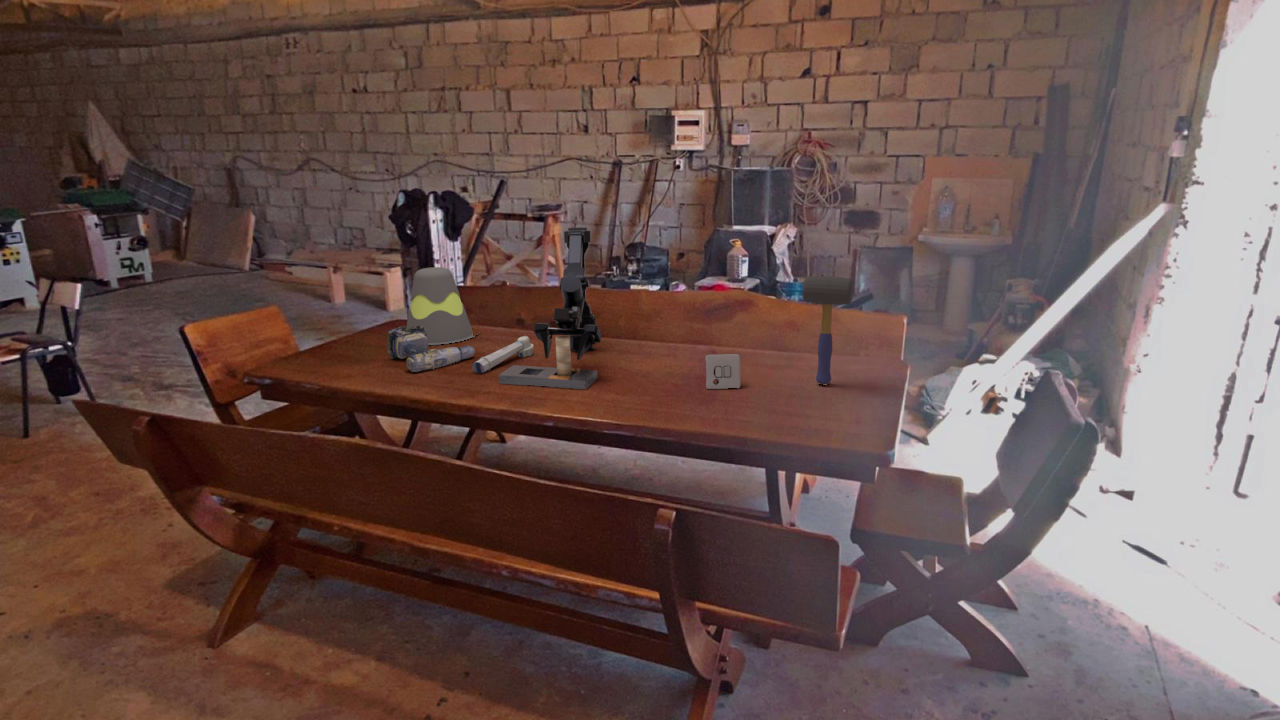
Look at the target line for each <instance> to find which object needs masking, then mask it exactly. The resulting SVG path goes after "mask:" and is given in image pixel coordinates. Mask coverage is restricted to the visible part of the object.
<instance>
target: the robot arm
mask: <svg viewBox="0 0 1280 720" xmlns="http://www.w3.org/2000/svg"><path fill="white" fill-rule="evenodd" d="M563 241H564V242H563V243H564V244H566V247H567V248H568V259H567V266H566V267H565V268H564V269H563V275H562V277H560V282H559V289H560V291H561V294H562V298H563V300H564V301H563V305H562V308H561V307H559V308H557V307H555V308H554V310H553V318H552V319H553V321H555V325H556V326H558V327H551V326H550V324H549V322H536V323H535V324H534V325H533V328H532V329H533V330H532V331H533V332H534V334H535V336H536V338H537V339H538V340H539V341H541V343H543V348H544V349H543V350H544V351H543V352H544V357H545V359H546V360H548V359H549V356H550V352H551V348H552V345H553V341H552V340H553V336H568V337H570V350H572V351H574V352H575V353H577V354H576V360H577V361H579V360H581V358H582V357H583V356H584V354H585V353H587V351H589V352H590V351H594V350H596V347H594V345H596V344H597V343H598V344H599V343H601V341H602V332H601V330H600V327H599V326H598V324H597V322H596V321H597V320H596V317H595V316H594V313H592V308H591V306H590V304H589V303H588V302H587V290H588V289H589V287H590V280H589V278H588V276H586V254H588V251H589V249H590V247H591V245H590V243H592V231H591V230H589V229H588V227H568V230H565V231H564V230H563Z"/></svg>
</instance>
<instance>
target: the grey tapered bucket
mask: <svg viewBox="0 0 1280 720" xmlns="http://www.w3.org/2000/svg"><path fill="white" fill-rule="evenodd" d="M457 286H458V285H457V284H456V281H455V278H454V276H453V273H452V271H451V270H450V269H449V268H447V267H439V266H438V267H437V266H436V267H435V266H433V267H425V268H424V267H423V268H420V269H419V270H417V271H416V272H415V273H414V276H413V282H412V289H411V296H410V306H409V308H408V315H407V322H406V327H407V328H408V329H411V328H412V327H413V326H424V328H425V329H426V331H425V332H426V333H427V336H428V347H429V345H431V346H442V345H441V344H444V345H450V344H449V343H452V344H456V343H455V342H458V343H461V342H460V341H462V342H465V341H464V340H466V341H468V340H467V339H469V340H471V339H470V338H472V337H474V338H476V337H475V336H473V331H472V328H473V327H472V326H471V322H470V320H469V317H468V314H467V311H466V309H465V306H464V303H463V302H462V301H461V300H462V299H461V294H460V292H459V289H458V287H457ZM477 335H478V334H477ZM478 336H479V335H478ZM472 339H473V338H472Z"/></svg>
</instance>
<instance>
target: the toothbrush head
mask: <svg viewBox="0 0 1280 720" xmlns="http://www.w3.org/2000/svg"><path fill="white" fill-rule="evenodd" d="M534 347H535V346H534V344H533V343H531V340H530V338H529V337H528V336H527V335H524V336H520V337H518V338H517V340H516V341H515V342H513V343H511V344H509V345H507V346H504V347H502V348H500V349H498V350H496V351H494V352H491V353H490V354H487V355H485V356H481V357H480V358H479V359H478V360H477V361H474V362H473V364H471V365H472V369H473V371H474V373H475V374H479V373H480V375H481V374H483V373H485V372H490V371H491V369H492V368H494V367H495V366H497V365H499V364H501V363H502V362H503V361H505V360H507V359H509V358H510V357H512V356H514V355H516V356H517V358H526V357H531V356H532V355H533V354H534Z"/></svg>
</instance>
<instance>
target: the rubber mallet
mask: <svg viewBox="0 0 1280 720" xmlns="http://www.w3.org/2000/svg"><path fill="white" fill-rule="evenodd" d="M853 294H854V281H853V279H852V278H851V277H850V278H848V277H839V276H832V275H831V276H830V275H829V276H828V275H815V276H811V275H810V276H806V277H805V278H804V281H803V286H802V300H803V301H804V302H806V303H812V304H819V305H820V304H821V305H822V311H821V328H820V333H819V336H818V344H817V358H818V363H817V373H816V375H815V381H816V383H817V384H818V383H820V384H828V383H829V384H831V381H832V376H831V375H832V374H831V364H832V363H831V361H832V354H833V335H832V315H833V305H836V306H837V305H840V306H841V305H842V306H843V305H850V304H851V303H852V300H853Z"/></svg>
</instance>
